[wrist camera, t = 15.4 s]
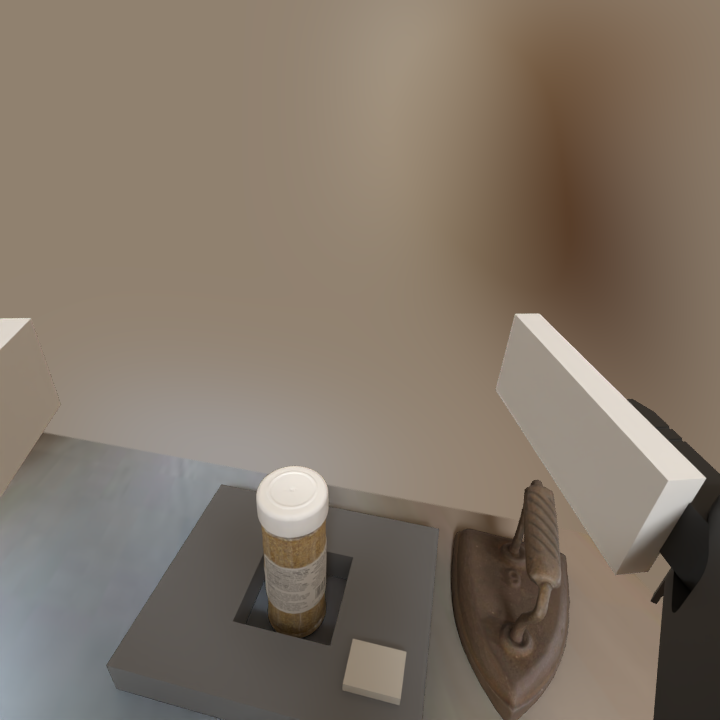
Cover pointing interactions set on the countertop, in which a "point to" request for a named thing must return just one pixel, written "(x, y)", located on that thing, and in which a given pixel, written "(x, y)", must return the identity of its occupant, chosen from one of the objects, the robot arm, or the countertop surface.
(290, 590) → the sprinkles bottle
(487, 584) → the clothes iron
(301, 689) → the socket plate
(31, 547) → the countertop surface
